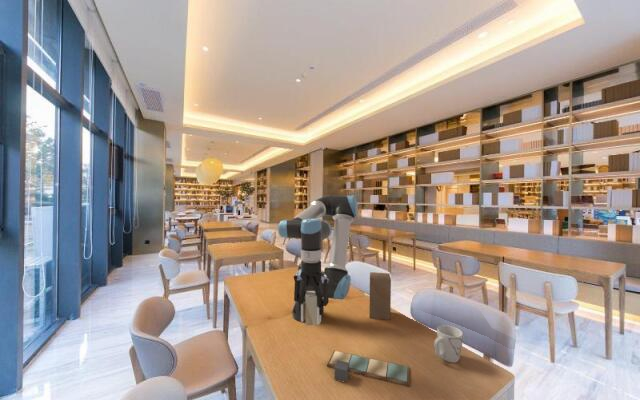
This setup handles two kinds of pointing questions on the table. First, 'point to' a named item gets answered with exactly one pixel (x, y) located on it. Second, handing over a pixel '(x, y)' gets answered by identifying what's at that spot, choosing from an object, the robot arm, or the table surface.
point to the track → (372, 367)
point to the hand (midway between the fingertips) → (311, 321)
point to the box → (311, 308)
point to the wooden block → (380, 296)
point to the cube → (341, 371)
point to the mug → (448, 343)
